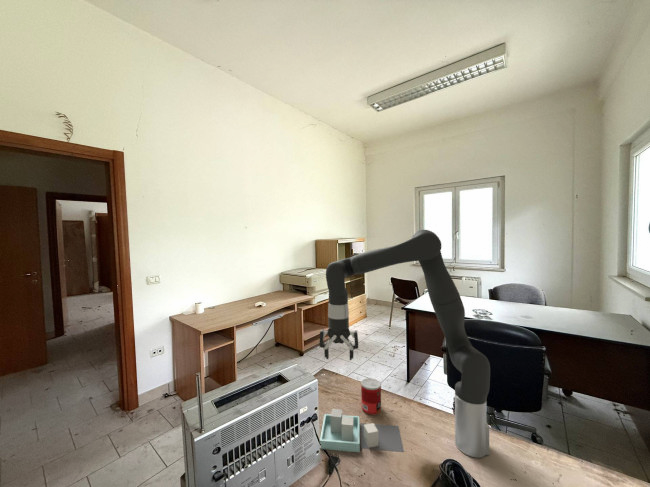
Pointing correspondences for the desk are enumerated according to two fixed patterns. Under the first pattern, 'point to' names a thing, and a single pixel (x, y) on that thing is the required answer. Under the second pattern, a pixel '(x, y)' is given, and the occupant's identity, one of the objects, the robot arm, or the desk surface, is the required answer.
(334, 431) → the stone
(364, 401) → the canned food
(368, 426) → the stone
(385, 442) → the mat
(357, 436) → the bin
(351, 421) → the stone
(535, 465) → the desk surface
